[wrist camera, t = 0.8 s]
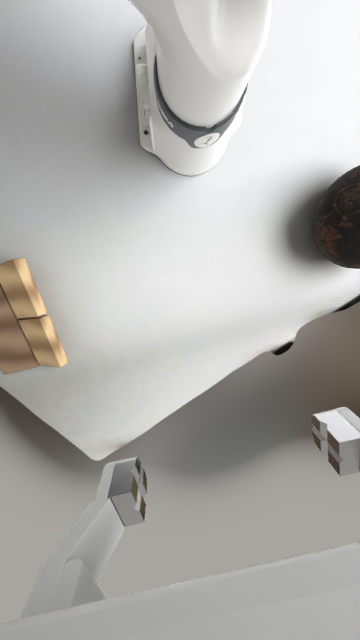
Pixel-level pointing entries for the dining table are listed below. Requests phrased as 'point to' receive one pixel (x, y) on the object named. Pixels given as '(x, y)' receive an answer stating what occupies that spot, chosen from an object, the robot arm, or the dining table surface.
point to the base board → (13, 340)
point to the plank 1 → (21, 289)
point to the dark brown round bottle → (340, 221)
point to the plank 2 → (44, 341)
